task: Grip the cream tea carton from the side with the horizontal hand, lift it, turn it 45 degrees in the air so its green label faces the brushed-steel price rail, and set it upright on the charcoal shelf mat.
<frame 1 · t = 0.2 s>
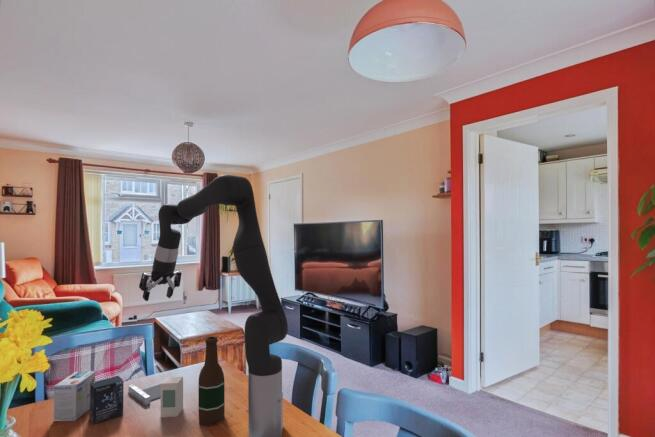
hand: (157, 298, 137), 31 cm above the table, tool tilted 20°, fingers open, 8 cm apart
light bulb box: (75, 413, 114), on the table
beer bottle: (211, 420, 110), on the table
box: (106, 417, 112), on the table
tea carton: (172, 412, 114), on the table
shelf mat: (158, 391, 128), on the table
price rail: (139, 394, 124), on the table
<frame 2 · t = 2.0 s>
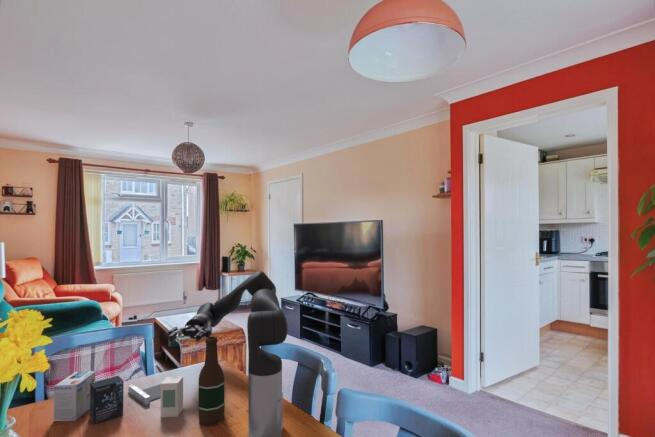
hand: (184, 338, 125), 19 cm above the table, tool horizontal, fingers open, 8 cm apart
nothing on the table moved.
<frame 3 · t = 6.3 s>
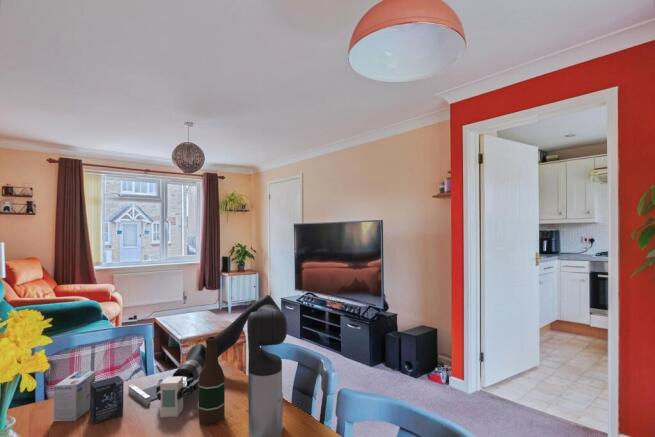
hand: (168, 396, 111), 6 cm above the table, tool horizontal, fingers closed on tea carton, 5 cm apart
tea carton: (171, 412, 114), on the table, touching gripper
everything else where it was.
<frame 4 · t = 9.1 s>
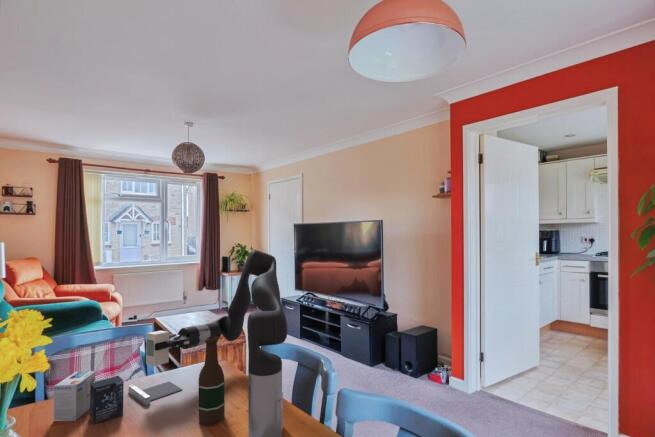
hand: (150, 346, 122), 18 cm above the table, tool horizontal, fingers closed on tea carton, 5 cm apart
tea carton: (157, 363, 124), point 12 cm above the table, touching gripper
everything else where it was.
when the fingers open (8 cm above the table, at t = 11.8 s): tea carton drops 1 cm, resting on shelf mat.
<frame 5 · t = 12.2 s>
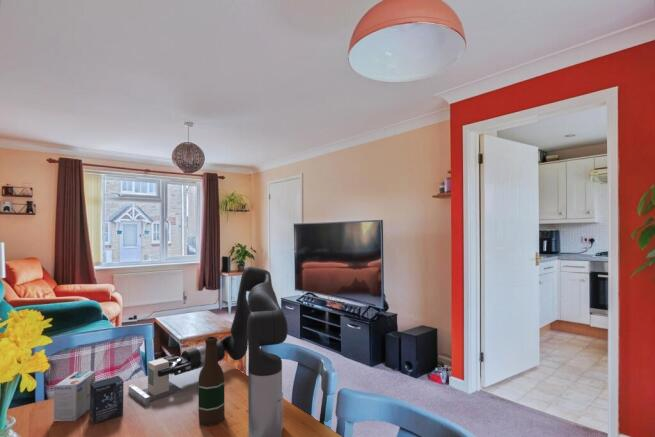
hand: (152, 370, 127), 8 cm above the table, tool horizontal, fingers open, 8 cm apart
tea carton: (158, 390, 128), resting on shelf mat
everything else where it was.
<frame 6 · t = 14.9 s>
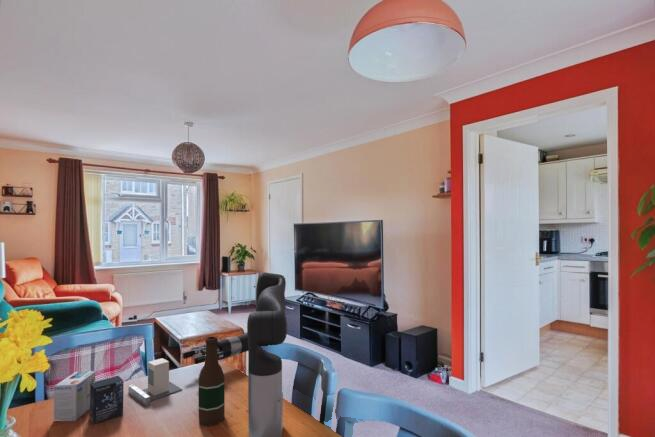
hand: (188, 358, 136), 9 cm above the table, tool horizontal, fingers open, 8 cm apart
nothing on the table moved.
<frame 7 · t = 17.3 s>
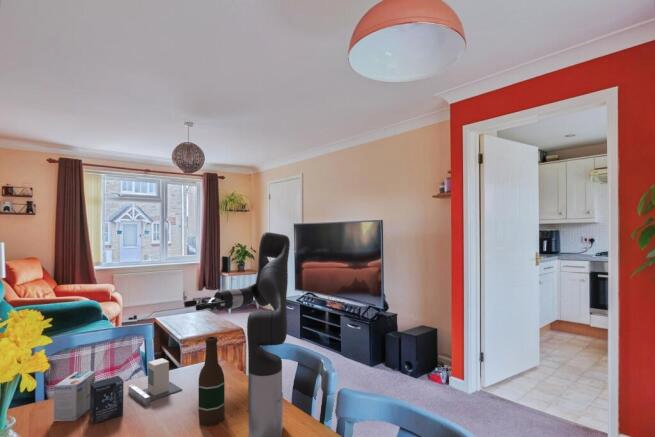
hand: (190, 306, 136), 28 cm above the table, tool horizontal, fingers open, 8 cm apart
nothing on the table moved.
at the end: tea carton 0.1 cm off-centre on the shelf mat, point 0.4 cm above the shelf mat's base; tea carton tilted 0°; the gripper is holding nothing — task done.
